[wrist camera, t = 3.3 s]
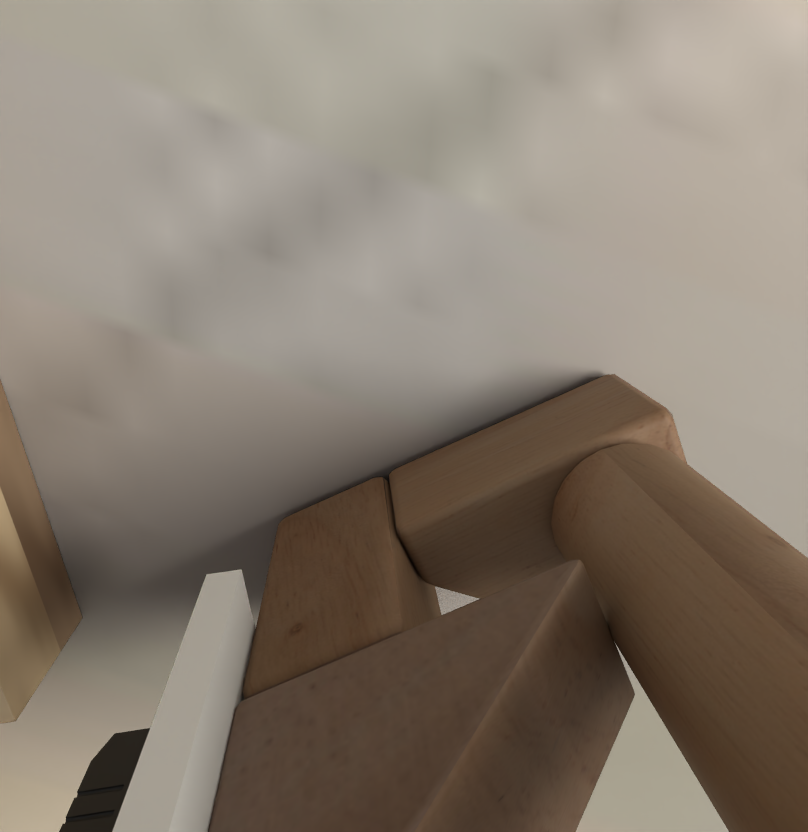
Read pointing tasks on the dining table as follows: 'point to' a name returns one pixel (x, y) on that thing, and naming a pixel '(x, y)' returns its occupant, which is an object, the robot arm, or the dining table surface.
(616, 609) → the wooden block
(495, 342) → the dining table surface
